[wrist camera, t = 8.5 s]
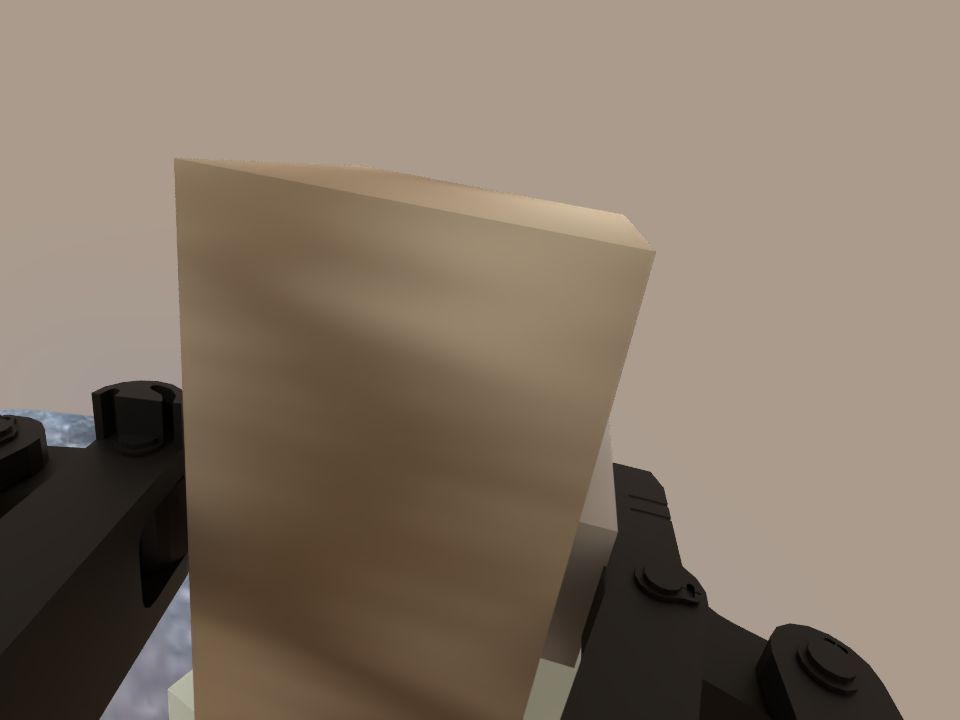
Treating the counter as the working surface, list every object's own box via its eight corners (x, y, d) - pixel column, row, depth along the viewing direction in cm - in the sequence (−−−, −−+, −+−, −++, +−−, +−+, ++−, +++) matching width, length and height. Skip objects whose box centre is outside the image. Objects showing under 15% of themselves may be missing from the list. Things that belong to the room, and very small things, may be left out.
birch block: (503, 683, 14) (623, 214, 10) (460, 940, 9) (656, 251, 5) (324, 629, 14) (363, 166, 10) (199, 843, 10) (173, 158, 6)
